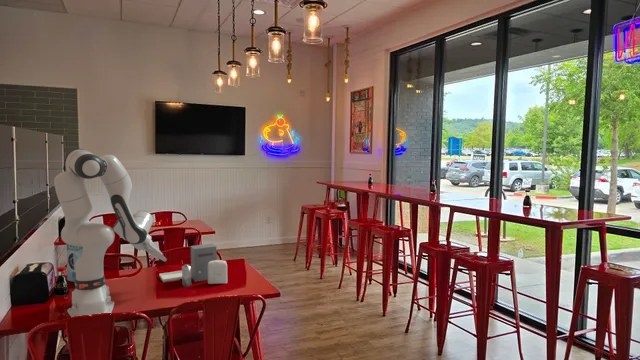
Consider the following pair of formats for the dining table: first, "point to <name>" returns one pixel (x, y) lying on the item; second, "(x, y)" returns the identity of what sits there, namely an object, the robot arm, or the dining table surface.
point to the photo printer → (217, 272)
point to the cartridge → (186, 275)
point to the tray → (171, 276)
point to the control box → (201, 260)
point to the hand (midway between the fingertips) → (164, 258)
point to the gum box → (72, 260)
